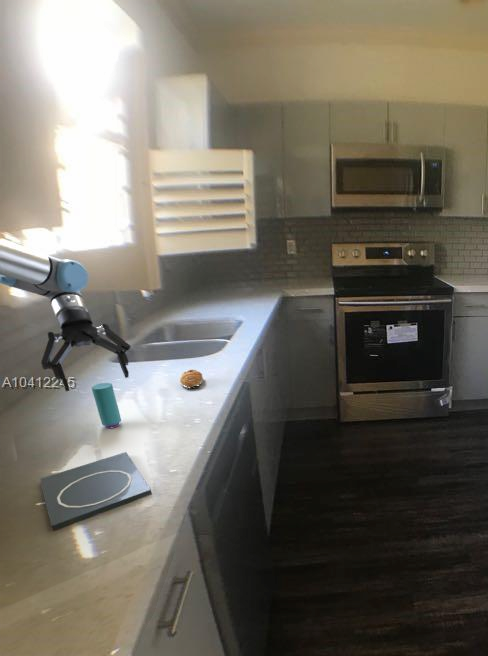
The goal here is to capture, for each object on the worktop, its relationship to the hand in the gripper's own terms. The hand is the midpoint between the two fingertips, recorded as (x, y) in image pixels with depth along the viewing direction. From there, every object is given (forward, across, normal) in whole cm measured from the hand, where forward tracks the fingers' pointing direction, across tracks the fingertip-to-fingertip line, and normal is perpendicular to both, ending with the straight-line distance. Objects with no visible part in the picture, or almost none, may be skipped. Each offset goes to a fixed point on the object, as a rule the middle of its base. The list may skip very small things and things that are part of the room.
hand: (98, 381), depth 118 cm
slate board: (+33, -9, -18) cm, 38 cm away
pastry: (0, +26, +15) cm, 30 cm away
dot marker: (+11, 0, +4) cm, 12 cm away
